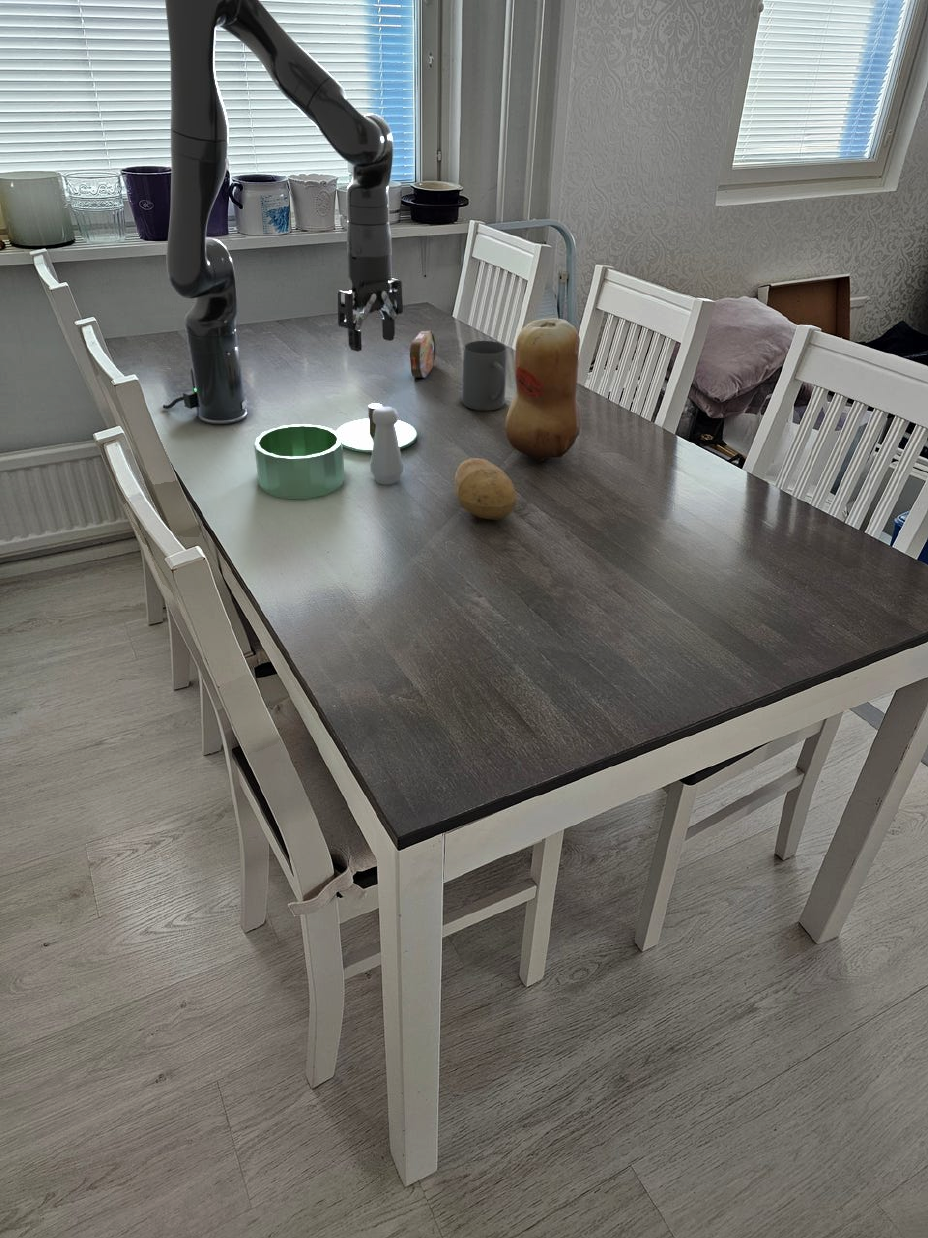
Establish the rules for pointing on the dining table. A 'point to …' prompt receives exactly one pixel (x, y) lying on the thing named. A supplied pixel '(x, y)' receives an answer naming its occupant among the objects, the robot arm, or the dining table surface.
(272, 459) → the pot
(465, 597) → the dining table surface
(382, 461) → the salt shaker
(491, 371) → the mug
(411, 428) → the pot lid
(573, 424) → the butternut squash
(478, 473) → the potato
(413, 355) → the tin
